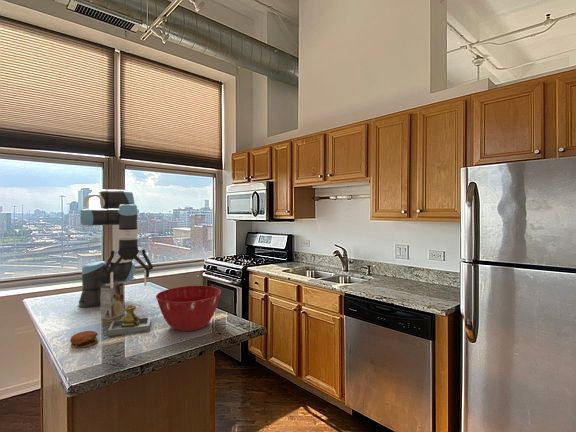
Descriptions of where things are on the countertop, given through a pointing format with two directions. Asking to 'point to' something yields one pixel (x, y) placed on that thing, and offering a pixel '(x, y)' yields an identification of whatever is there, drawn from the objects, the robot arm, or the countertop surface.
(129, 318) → the brass door knob
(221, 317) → the countertop surface
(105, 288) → the coffee box
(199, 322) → the mixing bowl
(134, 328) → the tray
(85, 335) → the burger
